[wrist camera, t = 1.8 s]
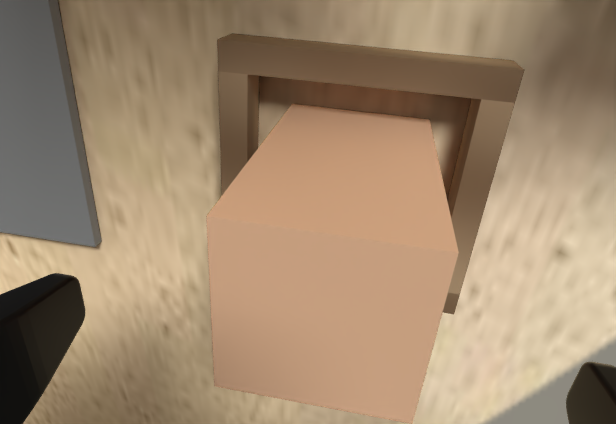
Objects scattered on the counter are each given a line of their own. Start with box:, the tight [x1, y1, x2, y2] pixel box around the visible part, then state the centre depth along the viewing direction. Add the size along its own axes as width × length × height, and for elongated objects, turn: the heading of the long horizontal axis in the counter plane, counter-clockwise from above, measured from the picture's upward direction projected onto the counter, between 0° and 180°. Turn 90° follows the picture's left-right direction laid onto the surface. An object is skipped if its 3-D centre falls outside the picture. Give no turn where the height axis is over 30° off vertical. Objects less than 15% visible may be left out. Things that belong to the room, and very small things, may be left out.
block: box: [206, 104, 459, 424], centre depth 11 cm, size 4×4×7 cm
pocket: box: [217, 34, 524, 314], centre depth 14 cm, size 8×8×1 cm
